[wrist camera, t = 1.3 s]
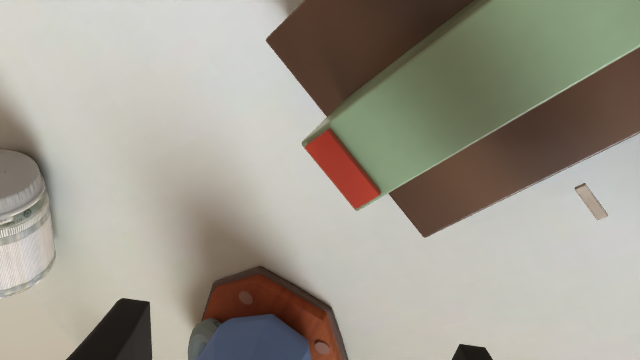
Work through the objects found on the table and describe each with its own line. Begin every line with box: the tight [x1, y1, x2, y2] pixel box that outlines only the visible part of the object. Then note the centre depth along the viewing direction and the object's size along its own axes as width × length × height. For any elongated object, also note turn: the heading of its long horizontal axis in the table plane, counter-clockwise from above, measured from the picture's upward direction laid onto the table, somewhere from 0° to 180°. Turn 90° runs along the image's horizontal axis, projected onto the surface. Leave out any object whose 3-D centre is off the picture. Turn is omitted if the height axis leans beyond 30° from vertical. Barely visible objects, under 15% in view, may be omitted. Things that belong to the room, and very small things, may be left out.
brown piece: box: [266, 0, 640, 238], centre depth 17 cm, size 14×14×3 cm
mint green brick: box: [302, 0, 640, 211], centre depth 14 cm, size 10×3×4 cm, turn 132°
